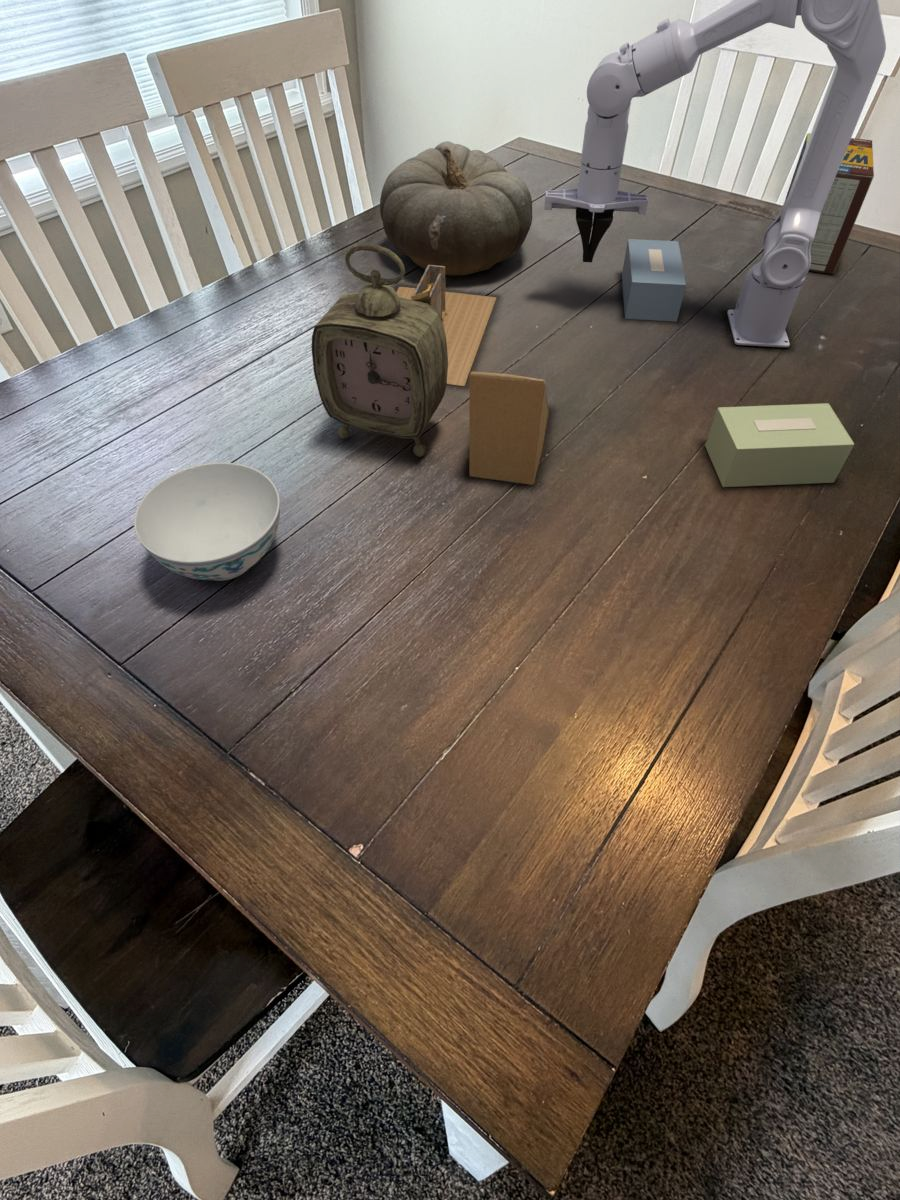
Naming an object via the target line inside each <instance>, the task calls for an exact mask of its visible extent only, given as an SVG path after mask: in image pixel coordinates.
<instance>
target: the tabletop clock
mask: <svg viewBox="0 0 900 1200" xmlns="http://www.w3.org/2000/svg"><path fill="white" fill-rule="evenodd" d="M361 251H366V252H367V251H368V252H375V253H379V254H382V255H385V256H387V257H389V258H391V259H392V260H393V261H394V262H395V263H396V264H397V265H398V267H399V269H400V274H399V275H398V276H396V277H390V278H383V277H381V276H382V275H381V272H380V271H379V270H378V269H373V270H372V271H371V272H370V275H368V274H364V273H362V272H361V271H358V270H357V269H356V268H355V267H353V266H352V264H351V262H350V259H351V256H352V255H353V254H355V253H356V252H361ZM344 262H345V265H346V267H347V269H348V270H349V271H350V273H352V275H353V276H354V277H356V278H357V279H360V280H361V281H363V282H366V283H367V284H365V285H364V286H363V287H362V288H361V289H360V290H359V291H355V292H349V293H344V294H342V295H340V298H338V299H337V300H336V302H335V303H334V304H333V305H332V306H331V307H330V308H329V309H328V310H327V312H326V313H325V314H324V315H323V316H322V317H321V318H320V320H318V322H317V323H316V324H315V325H314V327H313V331H312V334H311V357H312V367H313V369H312V370H313V374H314V378H315V383H316V387H317V392H318V394H319V395H318V396H319V398H320V402H321V404H322V406H323V408H324V410H325V411H326V414H327V416H328V417H330V418H331V419H333V420H334V421H336V422H338V423H340V424H343V425H341V426H340V427H339V428H338V429H337V434H338V437H340V439H347V438H350V435H351V430H350V427H352V428H355V429H357V430H360V431H361V430H362V431H364V432H367V433H372V434H375V435H381V436H387V437H393V438H399V439H413V441H414V443H415V445H414V447H413V453H414V455H415V456H417V457H419V458H420V457H423V456H425V455H426V453H427V447H426V446H425V444H423V443H421V441H420V440H421V439H420V437H421V435H422V433H423V432H424V430H425V429H426V427H427V426H428V424H429V423H430V421H431V419H432V417H433V416H434V414H435V412H436V411H437V409H438V407H440V405H441V402H443V401H442V400H443V399H444V396H445V393H446V389H447V386H448V384H447V372H448V354H447V342H446V335H445V330H444V326H443V322H442V319H441V317H440V314H439V312H438V310H437V309H435V308H433V307H432V306H430V305H428V304H425V303H422V302H418V301H414V300H410V299H406V298H402V297H398V295H397V293H396V292H397V290H395V289H394V287H392V285H396V284H398V283H400V282H401V281H402V280H403V279H404V277H405V274H406V268H405V264H404V263H403V261H402V259H401V257H399V256H398V255H397V254H396V253H395V252H393V251H392V250H391V249H390V248H387V247H385V246H382V245H379V244H373V243H358V244H355V245H353V246H351V247H350V248H349V249H348V250H347V251H346V254H345V256H344Z"/></svg>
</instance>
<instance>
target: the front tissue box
mask: <svg viewBox="0 0 900 1200" xmlns="http://www.w3.org/2000/svg"><path fill="white" fill-rule="evenodd" d="M854 446H855V443H854V440H853V439H852V437H851V436H850V435H849V433H848V431H847V430H846V428H845V427H844V425H843V424H842V422H841V420H840V418H839V417H838V416H837V414H836V413H835V411H834V409H833V408H832V406H831V405H830V403H829V402H825V403H823V402H822V403H802V404H800V403H797V404H772V405H771V404H770V405H747V406H745V405H744V406H720V407H717V408H716V412H715V415H714V417H713V421H712V424H711V427H710V430H709V433H708V435H707V439H706V441H705V444H704V447H705V449H706V451H707V455H708V456H709V459H710V461H711V463H712V466H713V468H714V470H715V472H716V475H717V478H718V480H719V482H720V484H721V487H722V488H736V487H758V486H759V487H760V486H761V487H762V486H763V487H765V486H785V485H786V486H787V485H788V486H789V485H809V484H811V485H812V484H832V483H835V482H836V480H837V478H838V476H839V474H840V472H841V471H842V470H843V467H844V465H845V463H846V461H847V459H848V457H849V456H850V454H851V452H852V450H853V448H854Z"/></svg>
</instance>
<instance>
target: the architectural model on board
mask: <svg viewBox="0 0 900 1200" xmlns="http://www.w3.org/2000/svg"><path fill="white" fill-rule="evenodd" d="M396 293H397V295H398V297H402V298H406V299H410V300H414V301H418V302H422V303H425V304H428V305H430V306H432V307H433V308H435V309H437V310H438V312H439V314H440V317H441V319H442V322H443V326H444V330H445V335H446V342H447V354H448V372H447V385H453V386H459V387H460V386H461V387H465V386H466V383H467V380H468V377H469V376H470V373H471V369H472V367H473V364H474V361H475V358H476V356H477V352H478V350H479V347H480V345H481V341H482V339H483V336H484V334H485V331H486V328H487V325H488V322H489V320H490V317H491V314H492V312H493V309H494V306H495V303H496V300H497V296H489V295H478V294H470V293H468V294H467V293H461V292H453V291H452V292H451V291H446V275H445V266H437V265H428V266H427V268H426V269H424V272H423V274H422V276H421V279H420V280H419V281H418V284H417V286H416V287H407V286H399V287H398V288H397V290H396Z"/></svg>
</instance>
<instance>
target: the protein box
mask: <svg viewBox="0 0 900 1200" xmlns="http://www.w3.org/2000/svg"><path fill="white" fill-rule="evenodd" d="M810 135H811V132H810V133H809V132H807V133H806V136H805V139H804V142H803V145H802V147H801V150H800V154H799V156H798V160H797V162H796V165H795V168H794V172H793V175H792V178H791V181H790V184H789V187H788V189H787V193H786V196H785V199H784V202H783V204H784V203H785V201H786V199H787V198H788V195H789V192H790V190H791V187H792V184H793V181H794V179H795V176H796V173H797V170H798V168H799V165H800V162H801V159H802V157H803V154H804V151H805V148H806V146H807V143H808V140H809V137H810ZM874 170H875V169H874V149H873V140H872V139H863V138H855V137H851V139H850V142H849V144H848V147H847V149H846V152H845V154H844V157H843V159H842V162H841V164H840V167H839V169H838V172H837V174H836V177H835V179H834V181H833V184H832V186H831V189H830V191H829V194H828V196H827V199H826V201H825V204H824V206H823V209H822V211H821V214H820V218H819V222H818V226H817V230H816V233H815V237H814V240H813V242H812V245H811V248H810V255H811V265H810V269H809V271H808V272H814V273H821V274H829V275H834V274H835V272H836V271H837V267H838V265H839V262H840V261H841V257H842V256H843V253H844V250H845V248H846V245H847V243H848V241H849V239H850V235H851V234H852V231H853V228H854V226H855V223H856V221H857V219H858V216H859V214H860V211H861V210H862V206H863V204H864V202H865V200H866V196H867V194H868V192H869V189H870V188H871V185H872V182H873V180H874V177H875V171H874Z"/></svg>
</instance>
